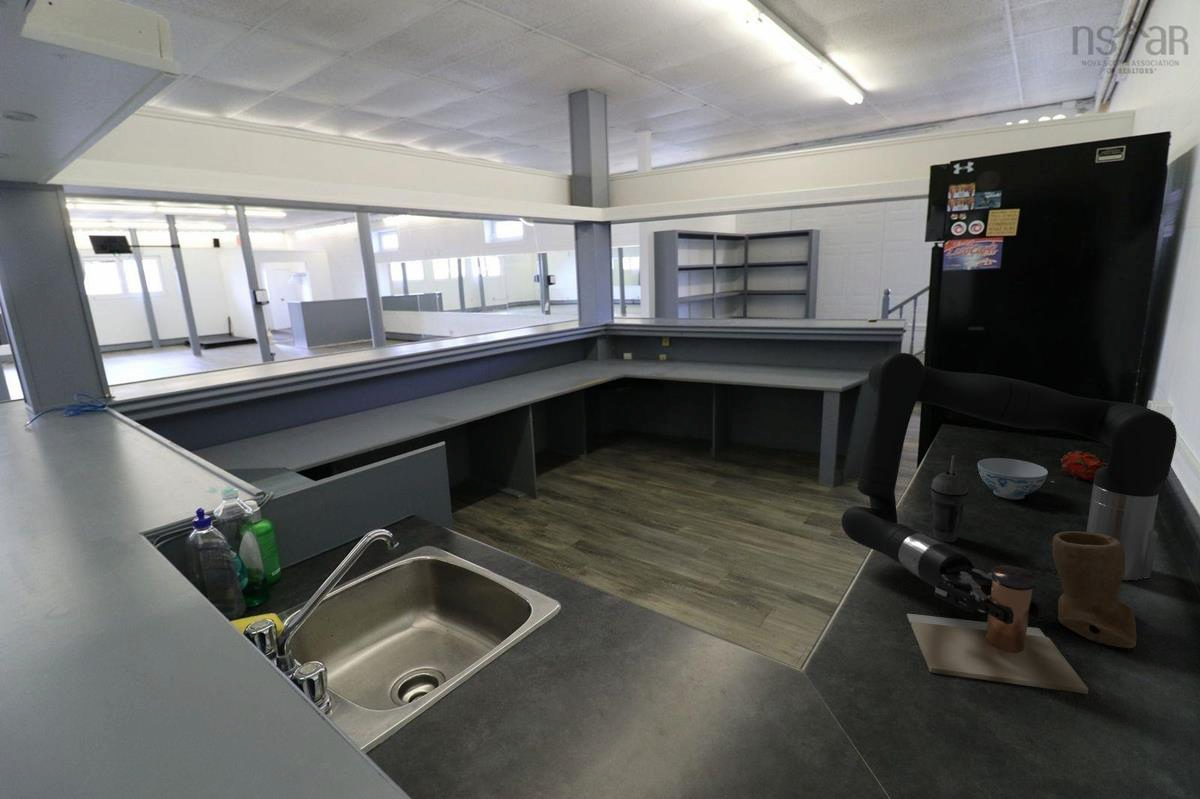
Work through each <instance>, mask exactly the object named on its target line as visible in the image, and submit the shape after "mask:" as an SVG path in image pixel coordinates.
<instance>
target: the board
mask: <svg viewBox="0 0 1200 799" xmlns="http://www.w3.org/2000/svg"><path fill="white" fill-rule="evenodd" d="M910 624H911V628H912V631H913V634H914V636H915V638H916V640H917V643H918V645H919V648H920V651H921V654H922V655H923V658H924V660H925V663H926V665H927V667H928V670H929V672H930V673H932V674H933V673H934V674H940V675H947V676H955V677H961V678H969V679H976V680H983V681H984V680H985V681H992V682H998V683H1005V684H1014V685H1020V686H1026V687H1034V688H1035V687H1036V688H1042V689H1050V690H1056V691H1065V692H1071V693H1079V694H1085V695H1088V694H1089V688H1088V686H1087V685H1086V684H1085V682H1084V681H1083V680H1082V679H1081V677H1080V675H1079V674H1077V672H1076V671H1075V669H1073V667H1072V665H1071V664H1070V663H1069V662H1068V660H1067V659H1066V658H1065V657H1064V656H1063V654H1062V653H1061V652H1060V650H1059V649H1058V648H1057V646H1056V645H1055V644H1054V642H1053V641H1052V640H1051V639H1050V637H1049V636H1045V637H1042V636H1033V635H1026V639H1025V646H1024V650H1023V651H1022V652H1019V653H1010V652H1005V651H1002V650H999V649H997V648H995V647H993V646H992V645H990V644H989V643H988V642H987V640H986V638H985V636H986V630H981V629H972V628H963V627H954V626H946V625H937V624H928V623H920V622H912V623H910Z"/></svg>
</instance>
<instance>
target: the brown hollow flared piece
mask: <svg viewBox="0 0 1200 799" xmlns="http://www.w3.org/2000/svg"><path fill="white" fill-rule="evenodd" d="M1052 557H1053V562H1054V565H1055V568H1056V570H1057V573H1058V576H1059V580H1060V582H1061V586H1062V589H1063V593H1062V594H1061V595H1060V597H1058V604H1057V606H1058V607H1057V609H1058V616H1057V619H1058V622H1059V623H1060V624H1062V625H1063V626H1065V627H1067V628H1068V629H1070V630H1071V631H1072V632H1074V633H1076V634H1078V635H1079V636H1080V637H1081V636H1082V638H1084V639H1087V640H1089V641H1092V642H1096V643H1098V644H1101V645H1102V644H1103V645H1106V646H1111V647H1115V648H1116V647H1117V648H1125V649H1133V648H1135V647H1136V645H1137V628H1136V627H1137V626H1136V618H1135V614H1134V612H1133V609H1132V607H1130V606H1129V605H1128V604H1126V603H1124V602H1122V601H1118V600H1117V599H1118V594H1119V592H1120V591H1119V590H1120V588H1121V585H1122V582H1123V581H1124V580H1123V578H1124V574H1125V552H1124V548H1123V546H1122V544H1121V543H1120V542H1119V541H1118V540H1116V539H1114V538H1112V537H1111V536H1107V535H1103V534H1098V533H1088V532H1086V531H1080V530H1075V531H1074V530H1073V531H1072V530H1071V531H1070V530H1069V531H1068V530H1067V531H1061V532H1058V533H1056V534H1054V536H1053V537H1052Z"/></svg>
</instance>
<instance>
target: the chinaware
mask: <svg viewBox="0 0 1200 799" xmlns="http://www.w3.org/2000/svg"><path fill="white" fill-rule="evenodd" d="M977 470H978V472H979V476H980V478H981V479H982V482H984V484H985V485H986V486H988V488H990V489H991V490H992V491H993V494H994V495H995V496H997V497H1000V498H1002V499H1003V498H1004V499H1008V500H1023V499H1024V498H1025V496H1026V495H1029V494H1032V493H1033V492H1035V491H1037V490H1038V489H1039V488H1041V487H1042V485H1043V484H1044V482H1045V481H1046V479H1047V477H1048V474H1049V471H1048V470H1047V468H1046V467H1043V466H1042V465H1038V464H1037V463H1034V462H1029V461H1025V460H1020V459H1012V458H999V457H993V458H983V459H981V460H979V461H978V462H977Z"/></svg>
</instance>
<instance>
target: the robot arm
mask: <svg viewBox="0 0 1200 799" xmlns="http://www.w3.org/2000/svg"><path fill="white" fill-rule="evenodd" d="M867 376H868V382H869V385H870V387H871V388H872V389H873V391H874V392H876V393H877V394H878V395H877V410H876V414H875V418H874V422H873V426H872V429H871V432H870V434H869V438H868V439H867V442H866V445H865V448H864V451H863V455H862V457H861V458H862V459H861V463H860V470H859V475H858V479H857V491H859V493H861V494H862V495H864V496H867V497H868V498H869V502H870V507H867V506H859V505H858V506H852V507H849V508H848V509H846V510H845V511H844V513H843V514H842V516H841V525H842V526H841V527H842V530H843V532H844V533H845V534H846V536H848V537H849V538H850V539H851V540H852V541H854V542H856V543H857V544H860V545H862V546H863V547H866V548H869V549H871V550H872V551H873V550H874V551H876V552H879V553H880V554H883V555H886V556H887V557H889V559H890V560H891V559H892V560H893V561H895V562H896V563H898V564H900V565H901V566H903V567H904V568H906V569H907V571H909V572H910V573H912V574H913V575H914V576H915V577H917V578H919V579H921V580H923V581H924V582H925V583H927V584H929V585H930V586H932V587H934V589H935V590H934V596H935V598H938V599H940V600H942V601H945V602H946V603H949V604H950V605H953V606H954V607H957V608H960V609H961V610H963V611H966V612H968V613H974V612H975V611H976V610H977V611H979V612H980V613H985V614H987V615H988V614H990V615H991V616H993V617H994V618H996V619H998V620H1000V621H1002V622H1004V623H1005V624H1012V623H1013V618H1014V613H1013V611H1012V610H1010V609H1008V608H1007V607H1005V606H1003V605H1001V604H999V603H997V602H996V601H994V600H993V599H990V595H991V586H992V572H987V571H985V570H983V569H980V568H978V567H975V566H974V565H973V564H972V561H971V560H970V558H969V557H968V556H967V555H965V554H964V553H963V552H960V551H958V550H956V549H954V548H952V547H950V546H949V545H946V544H945V543H943V542H942V541H940V540H938V539H936V538H934V537H931V536H928V535H925V534H923V533H921V532H919V531H918V530H915V529H913V528H911V527H910V526H907V525H905V524H901V523H898V512H897V503H896V502H897V501H896V493H895V492H896V491H895V490H896V485H897V482H898V481H897V480H898V476H899V475H898V474H899V471H900V465H901V458H902V453H903V450H904V449H903V448H904V444H905V440H906V436H907V432H908V427H909V424H910V422H911V421H910V420H911V417H912V415H913V411H914V409H915V406H916V404H917V402H918V403H919V402H920V403H923V404H924V403H925V404H930V405H935V406H938V407H943V408H945V409H949V410H951V411H954V412H957V413H960V414H964V415H966V416H969V417H974V418H978V419H981V420H983V421H989V422H992V423H995V424H1001V425H1004V426H1008V427H1014V428H1019V429H1027V430H1028V429H1031V430H1054V431H1055V430H1056V431H1062V432H1066V433H1071V434H1074V435H1077V436H1081V437H1084V438H1087V439H1089V440H1093V441H1096V442H1099V443H1102V444H1103V445H1106V446H1108V447H1109V448H1110V453H1109V456H1108V461H1107V463H1106V464H1107V466H1106V467H1102V468H1099V469H1098V470H1097V471H1096V472H1095V477H1094V479H1093V480H1094V482H1093V485H1092V491H1091V499H1090V505H1089V512H1088V518H1087V527H1086V531H1085V532H1088V533H1098V534H1103V535H1107V536H1111V537H1112V538H1114V539H1116V540H1118V541H1119V542H1120V543H1121V544H1122V546H1123V548H1124V552H1125V574H1124V578H1123V580H1122V581H1128V580H1135V581H1139V580H1138V579H1141V578H1144V579H1146V578H1145V577H1148V578H1150V579H1151V576H1152V571H1153V570H1152V569H1153V565H1154V558H1155V553H1156V548H1157V542H1158V537H1159V534H1158V532H1157V531H1156V530H1154V524H1155V518H1156V510H1157V505H1158V500H1159V495H1160V490H1161V487H1162V485H1163V484H1164V483H1165V481H1166V480H1167V479H1168V478H1169V477H1168V476H1169V474H1170V470H1171V466H1172V461H1173V458H1174V454H1175V451H1176V450H1175V449H1176V444H1177V436H1178V435H1177V429H1176V425H1175V423H1174V422H1173V420H1172V419H1171V418H1170V417H1169V416H1167V415H1165V414H1163V413H1161V412H1158V411H1156V410H1153V409H1150V408H1149V407H1145V406H1143V405H1139V404H1137V403H1131V402H1123V401H1114V400H1113V401H1111V400H1104V399H1097V398H1096V399H1095V398H1090V397H1083V396H1078V395H1077V396H1076V395H1072V394H1070V393H1066V392H1063V391H1060V390H1058V389H1054V388H1051V387H1048V386H1044V385H1040V384H1037V383H1033V382H1029V381H1026V380H1025V381H1024V380H1021V379H1015V378H1011V377H1006V376H1000V375H992V374H985V373H974V372H960V371H959V372H957V371H948V370H941V369H937V368H933V367H930V366H926V365H924V364H923V363H922V361H921V360H920V359H919V358H918V357H916V356H915V355H913V354H910V353H907V352H896V353H892V354H888V355H886V356H884V357H882V358H880V359H878V360H877V361H875V362H874V364H872V365H871V367H870V369H869V371H868V375H867ZM1141 580H1142V579H1141ZM960 598H962V599H963V600H964V602H963V601H961V600H960ZM1042 613H1043V605H1042V604H1041V603H1040V602H1038V601H1036V600H1034V599H1032V598H1031V603H1030V610H1029V616H1032V617H1034V618H1036V619H1037V618H1040V617H1042Z"/></svg>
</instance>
